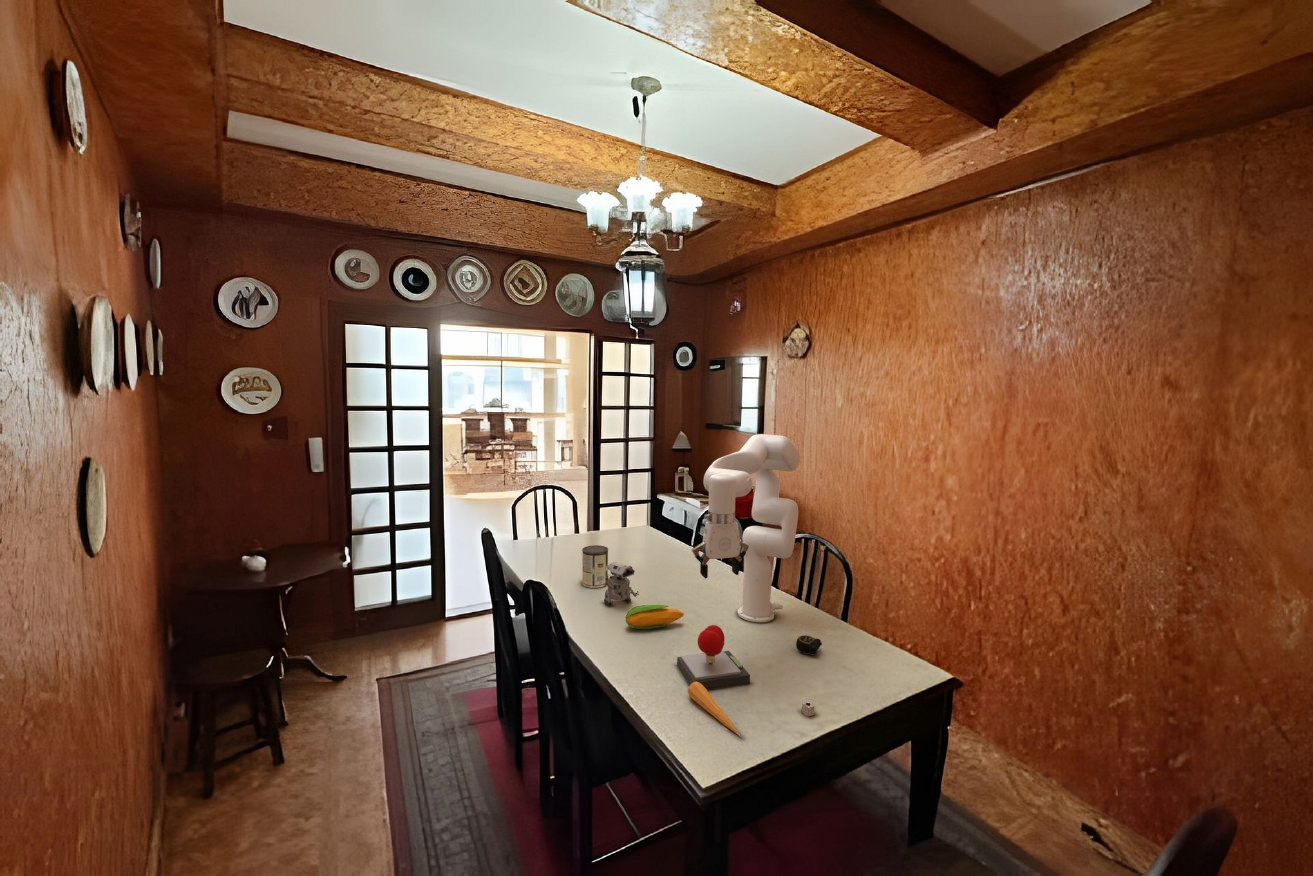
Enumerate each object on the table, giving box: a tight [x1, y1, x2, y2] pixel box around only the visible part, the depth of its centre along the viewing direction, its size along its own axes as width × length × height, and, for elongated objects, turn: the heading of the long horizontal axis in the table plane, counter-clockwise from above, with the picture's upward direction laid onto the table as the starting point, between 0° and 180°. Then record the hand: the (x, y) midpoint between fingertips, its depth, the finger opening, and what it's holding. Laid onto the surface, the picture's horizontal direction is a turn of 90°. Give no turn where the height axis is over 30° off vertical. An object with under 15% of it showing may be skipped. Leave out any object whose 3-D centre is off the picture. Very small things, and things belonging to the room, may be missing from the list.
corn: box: [625, 604, 685, 630], centre depth 183 cm, size 7×8×20 cm
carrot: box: [687, 681, 742, 738], centre depth 135 cm, size 20×4×4 cm, turn 31°
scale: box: [676, 650, 751, 691], centre depth 154 cm, size 16×14×3 cm
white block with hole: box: [801, 700, 816, 717], centre depth 137 cm, size 2×2×2 cm
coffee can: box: [581, 544, 609, 589], centre depth 221 cm, size 10×10×14 cm
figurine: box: [603, 561, 640, 607], centre depth 200 cm, size 9×12×15 cm
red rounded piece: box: [697, 624, 726, 664], centre depth 154 cm, size 9×7×10 cm
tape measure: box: [795, 634, 823, 656], centre depth 169 cm, size 7×7×4 cm
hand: (719, 575), depth 161 cm, fingers open, 9 cm apart
